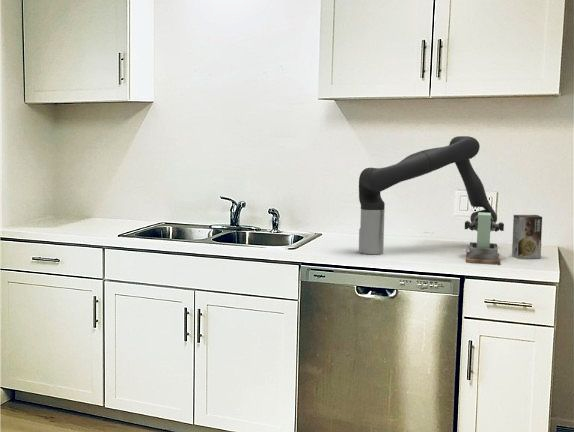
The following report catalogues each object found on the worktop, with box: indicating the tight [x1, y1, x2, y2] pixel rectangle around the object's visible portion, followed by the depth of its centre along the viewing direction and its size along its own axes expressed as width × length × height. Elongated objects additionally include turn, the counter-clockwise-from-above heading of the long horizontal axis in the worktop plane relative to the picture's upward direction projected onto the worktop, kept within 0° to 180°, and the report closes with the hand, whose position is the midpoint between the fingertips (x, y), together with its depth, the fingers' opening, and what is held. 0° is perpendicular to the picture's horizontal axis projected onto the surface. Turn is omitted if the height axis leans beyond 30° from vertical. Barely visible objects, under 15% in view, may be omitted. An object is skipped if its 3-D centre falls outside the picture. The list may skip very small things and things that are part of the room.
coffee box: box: [511, 214, 543, 259], centre depth 259 cm, size 9×6×16 cm
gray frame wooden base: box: [465, 241, 501, 266], centre depth 253 cm, size 12×18×5 cm, turn 164°
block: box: [476, 212, 491, 249], centre depth 253 cm, size 4×9×16 cm, turn 164°
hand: (484, 228), depth 251 cm, fingers open, 8 cm apart
